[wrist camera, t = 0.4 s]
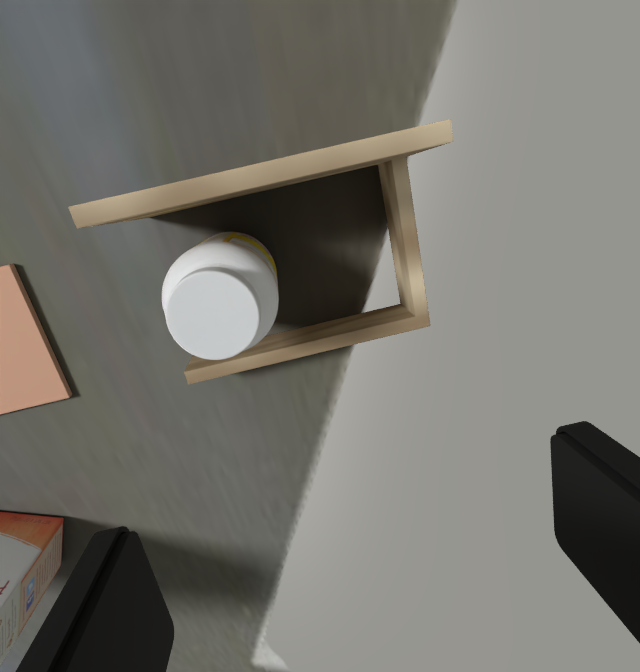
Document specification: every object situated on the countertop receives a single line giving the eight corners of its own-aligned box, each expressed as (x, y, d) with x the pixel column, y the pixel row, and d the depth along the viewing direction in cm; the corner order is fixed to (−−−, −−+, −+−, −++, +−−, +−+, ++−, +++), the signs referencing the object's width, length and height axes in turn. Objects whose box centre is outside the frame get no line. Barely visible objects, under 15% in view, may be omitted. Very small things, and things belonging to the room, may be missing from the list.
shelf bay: (143, 203, 31) (68, 207, 20) (388, 147, 32) (450, 119, 21) (197, 364, 36) (160, 442, 24) (414, 312, 36) (477, 365, 25)
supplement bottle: (200, 320, 35) (159, 387, 22) (182, 236, 32) (126, 259, 20) (283, 309, 35) (287, 368, 23) (271, 225, 33) (268, 241, 21)
